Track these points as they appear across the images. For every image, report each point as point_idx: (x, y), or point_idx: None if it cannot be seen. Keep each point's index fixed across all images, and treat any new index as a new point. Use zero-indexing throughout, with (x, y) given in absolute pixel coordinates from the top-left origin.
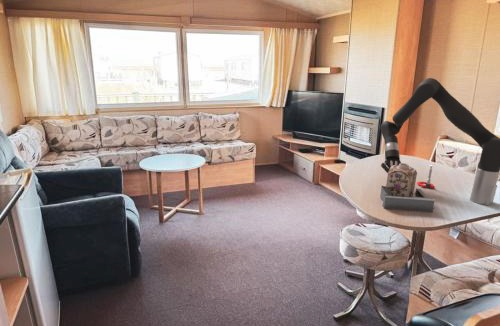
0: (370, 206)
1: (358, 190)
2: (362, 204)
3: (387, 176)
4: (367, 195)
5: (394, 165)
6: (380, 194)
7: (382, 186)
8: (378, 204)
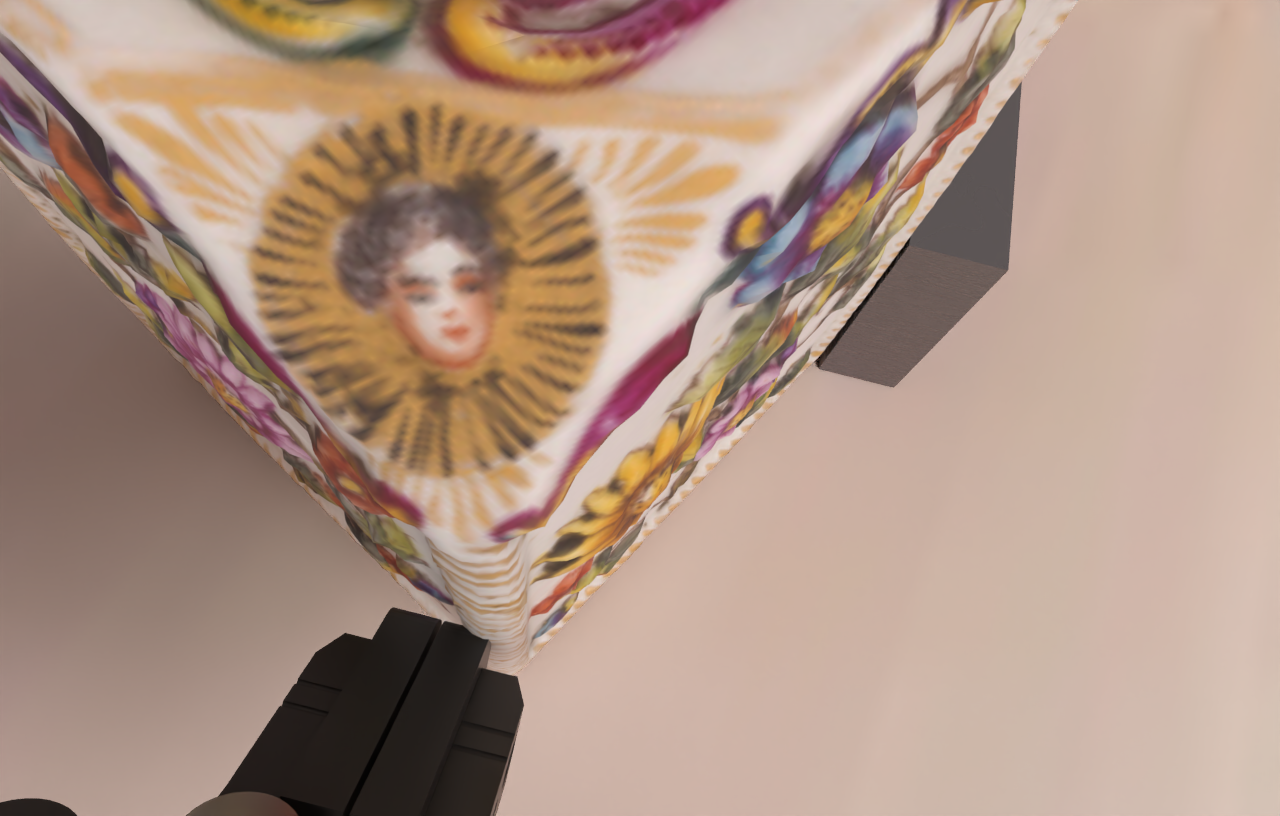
0: (1167, 57)
1: (1271, 768)
2: (1274, 127)
3: (1060, 20)
4: (1125, 469)
5: (753, 49)
6: (915, 362)
7: (995, 244)
8: (1027, 103)
